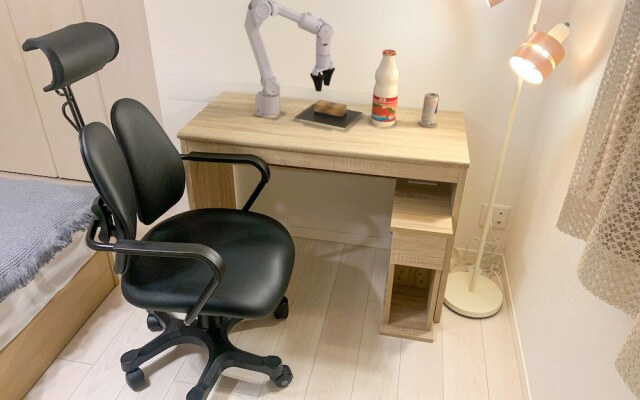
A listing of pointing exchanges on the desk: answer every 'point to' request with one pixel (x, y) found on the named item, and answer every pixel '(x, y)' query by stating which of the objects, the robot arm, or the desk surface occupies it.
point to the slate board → (327, 120)
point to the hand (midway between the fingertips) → (322, 88)
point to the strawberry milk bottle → (385, 90)
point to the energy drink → (429, 109)
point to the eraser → (330, 109)
